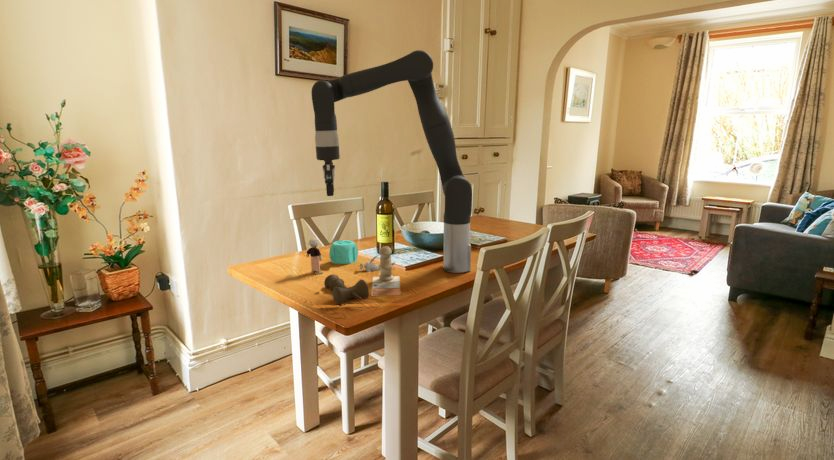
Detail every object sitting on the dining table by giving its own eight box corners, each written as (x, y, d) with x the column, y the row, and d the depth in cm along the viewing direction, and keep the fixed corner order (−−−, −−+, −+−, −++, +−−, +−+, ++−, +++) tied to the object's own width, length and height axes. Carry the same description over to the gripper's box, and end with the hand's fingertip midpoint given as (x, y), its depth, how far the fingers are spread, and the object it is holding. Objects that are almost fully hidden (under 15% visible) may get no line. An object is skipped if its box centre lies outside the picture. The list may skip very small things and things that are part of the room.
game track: (401, 278, 150) (401, 275, 150) (402, 297, 133) (402, 294, 133) (371, 279, 150) (371, 276, 150) (369, 298, 132) (368, 295, 132)
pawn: (392, 276, 149) (392, 244, 147) (392, 281, 145) (392, 247, 142) (379, 277, 149) (378, 244, 146) (379, 281, 145) (378, 248, 142)
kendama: (345, 287, 144) (376, 304, 128) (317, 294, 139) (346, 313, 123) (344, 269, 143) (375, 284, 127) (315, 275, 138) (344, 292, 122)
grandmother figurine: (327, 272, 158) (325, 237, 155) (321, 275, 154) (319, 240, 151) (310, 269, 161) (308, 235, 158) (303, 272, 157) (301, 238, 155)
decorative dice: (348, 267, 164) (348, 245, 162) (329, 265, 166) (328, 244, 164) (358, 261, 171) (357, 240, 169) (340, 259, 174) (339, 239, 172)
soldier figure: (395, 277, 155) (363, 270, 150) (390, 283, 159) (358, 277, 154) (395, 257, 160) (363, 251, 155) (389, 264, 163) (358, 257, 158)
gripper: (338, 145, 140) (342, 196, 143) (338, 144, 153) (341, 190, 157) (314, 146, 138) (318, 197, 142) (316, 144, 152) (320, 191, 156)
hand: (330, 194), depth 150 cm, fingers open, 8 cm apart
